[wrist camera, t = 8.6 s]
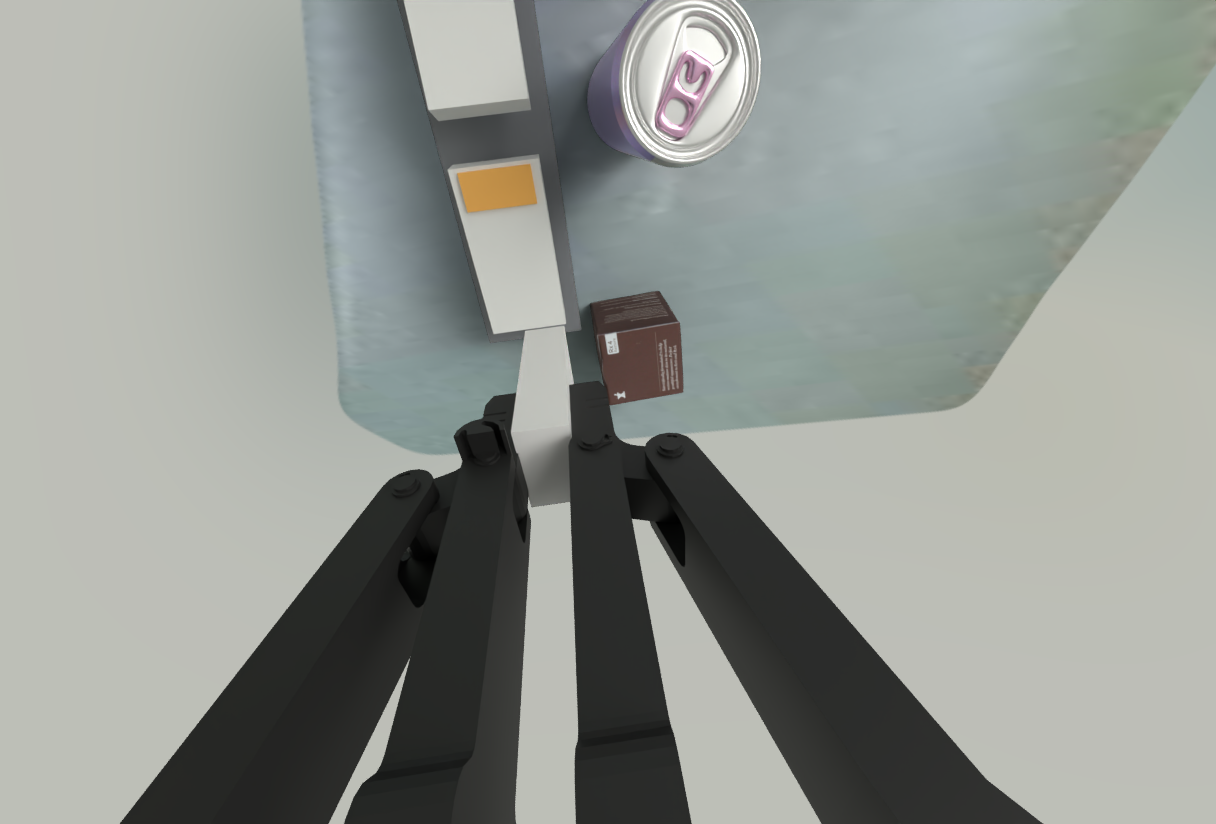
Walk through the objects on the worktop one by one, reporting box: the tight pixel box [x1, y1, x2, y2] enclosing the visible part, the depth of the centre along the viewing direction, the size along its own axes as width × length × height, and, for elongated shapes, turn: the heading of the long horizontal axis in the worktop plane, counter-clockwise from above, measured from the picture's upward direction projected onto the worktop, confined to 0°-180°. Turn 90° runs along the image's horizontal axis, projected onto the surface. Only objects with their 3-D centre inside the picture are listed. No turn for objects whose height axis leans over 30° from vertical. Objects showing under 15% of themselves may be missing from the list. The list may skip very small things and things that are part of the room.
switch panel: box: [397, 0, 581, 343], centre depth 28 cm, size 25×7×5 cm, turn 6°
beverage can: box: [587, 0, 761, 168], centre depth 23 cm, size 6×6×15 cm
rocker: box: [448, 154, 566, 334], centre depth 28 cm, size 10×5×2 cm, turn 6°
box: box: [590, 291, 683, 405], centre depth 35 cm, size 6×6×7 cm
